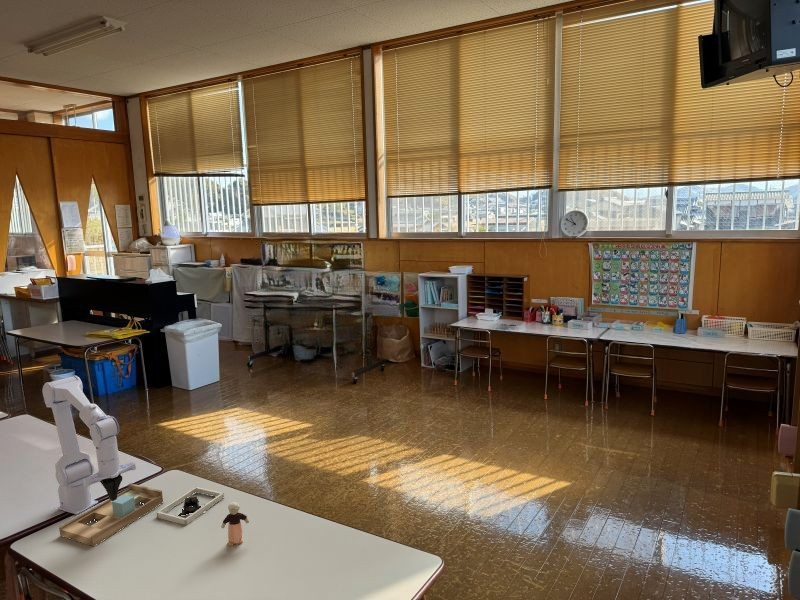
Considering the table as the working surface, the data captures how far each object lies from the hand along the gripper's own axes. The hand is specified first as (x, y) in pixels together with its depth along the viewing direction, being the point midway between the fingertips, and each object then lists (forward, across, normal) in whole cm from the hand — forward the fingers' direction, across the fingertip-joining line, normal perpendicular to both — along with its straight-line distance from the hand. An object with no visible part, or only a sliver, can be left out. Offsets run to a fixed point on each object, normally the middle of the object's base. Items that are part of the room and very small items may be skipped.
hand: (113, 499), depth 168 cm
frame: (+10, +21, -7) cm, 24 cm away
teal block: (+7, +4, +3) cm, 9 cm away
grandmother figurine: (+10, +20, -36) cm, 42 cm away
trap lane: (+10, +1, +6) cm, 11 cm away
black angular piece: (+10, +20, -9) cm, 24 cm away
